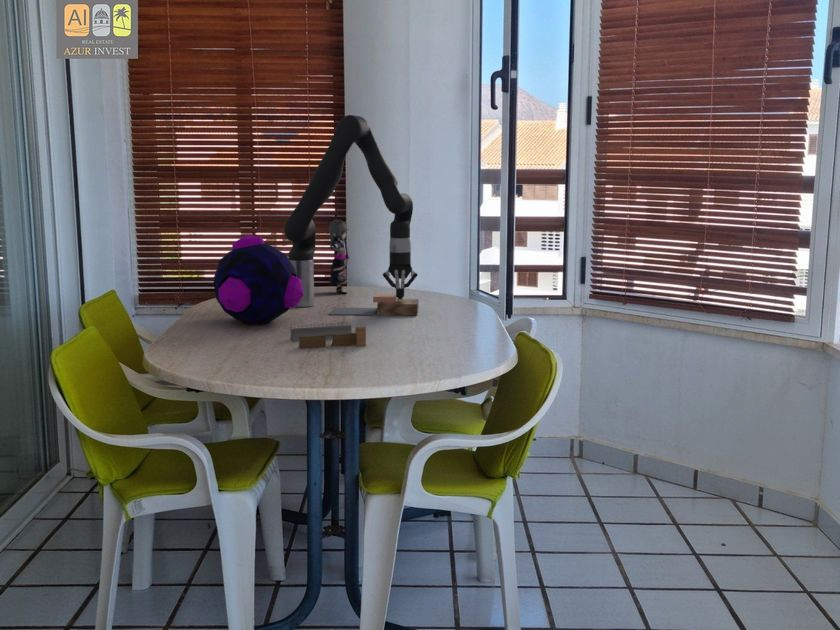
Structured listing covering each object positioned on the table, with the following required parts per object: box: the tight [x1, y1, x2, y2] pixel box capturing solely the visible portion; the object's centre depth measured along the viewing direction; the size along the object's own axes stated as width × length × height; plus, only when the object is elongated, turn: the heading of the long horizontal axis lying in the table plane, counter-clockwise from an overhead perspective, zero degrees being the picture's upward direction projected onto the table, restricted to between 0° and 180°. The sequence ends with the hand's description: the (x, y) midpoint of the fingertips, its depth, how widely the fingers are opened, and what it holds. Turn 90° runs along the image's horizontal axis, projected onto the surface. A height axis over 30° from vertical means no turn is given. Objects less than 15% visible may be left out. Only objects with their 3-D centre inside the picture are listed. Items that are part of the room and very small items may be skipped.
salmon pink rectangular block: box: [372, 293, 398, 303], centre depth 324 cm, size 8×6×2 cm
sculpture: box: [213, 234, 304, 326], centre depth 300 cm, size 30×29×30 cm
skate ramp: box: [290, 321, 367, 350], centre depth 267 cm, size 29×35×8 cm
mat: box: [328, 307, 377, 317], centre depth 325 cm, size 16×14×1 cm
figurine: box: [328, 219, 350, 294], centre depth 363 cm, size 17×8×30 cm, turn 179°
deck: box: [376, 298, 420, 316], centre depth 324 cm, size 14×12×4 cm
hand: (400, 298), depth 323 cm, fingers closed
